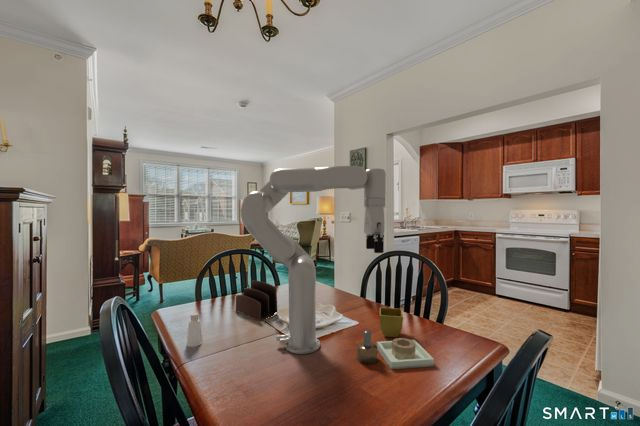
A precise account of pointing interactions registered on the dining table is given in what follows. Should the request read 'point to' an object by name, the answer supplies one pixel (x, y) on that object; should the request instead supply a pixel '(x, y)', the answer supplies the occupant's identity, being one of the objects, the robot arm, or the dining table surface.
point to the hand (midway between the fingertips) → (374, 250)
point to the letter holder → (258, 301)
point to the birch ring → (403, 348)
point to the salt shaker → (194, 331)
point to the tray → (418, 361)
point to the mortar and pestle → (367, 350)
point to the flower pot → (391, 321)
